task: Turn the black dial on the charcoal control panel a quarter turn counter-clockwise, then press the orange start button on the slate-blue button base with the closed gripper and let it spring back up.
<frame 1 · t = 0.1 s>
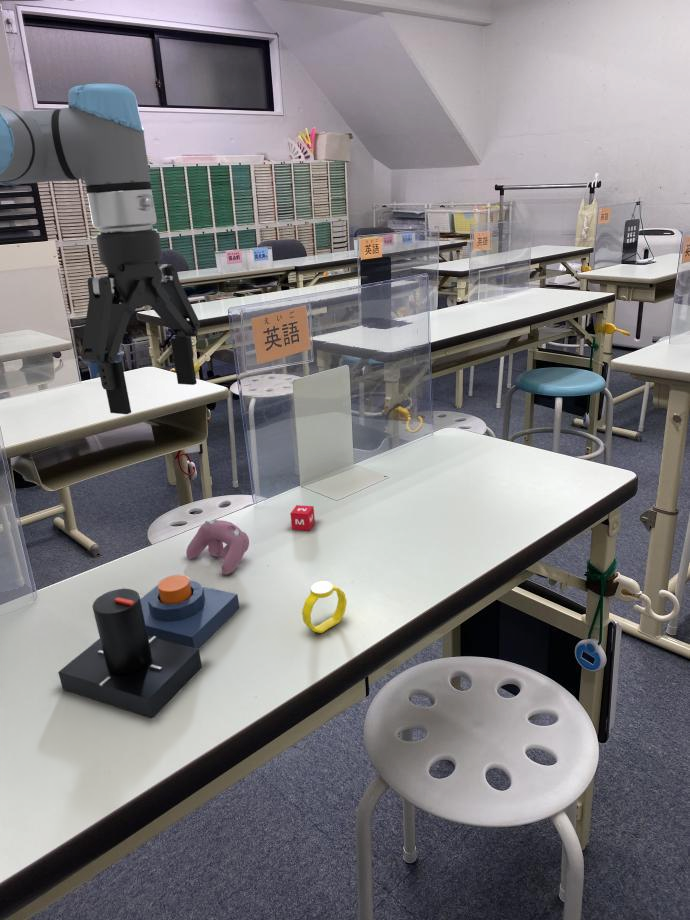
hand: (156, 397, 91), 27 cm above the table, tool pointing down, fingers open, 13 cm apart
dial: (122, 629, 77), point 7 cm above the table, hinge at 0.0°
start button: (174, 589, 88), point 5 cm above the table, slide at 0.1 cm
red letter cube: (303, 527, 113), on the table
video game controller: (220, 561, 104), on the table
dial panel: (133, 678, 79), on the table
button base: (180, 619, 90), on the table
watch: (326, 628, 86), on the table
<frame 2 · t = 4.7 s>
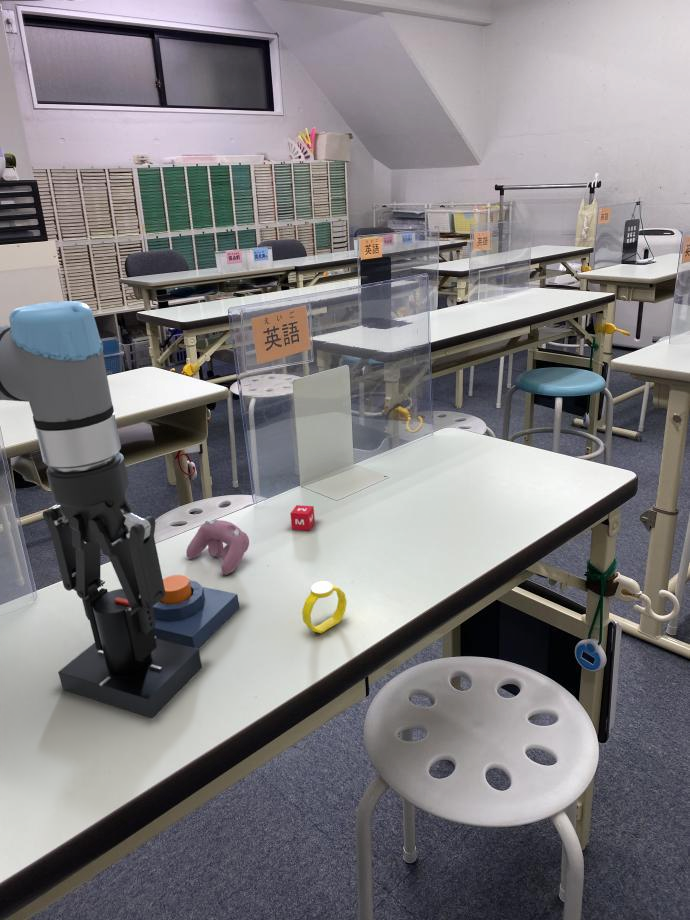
hand: (126, 647, 78), 4 cm above the table, tool pointing down, fingers closed on dial, 5 cm apart
dial: (122, 629, 77), point 7 cm above the table, hinge at 0.0°, touching gripper
everything else where it was.
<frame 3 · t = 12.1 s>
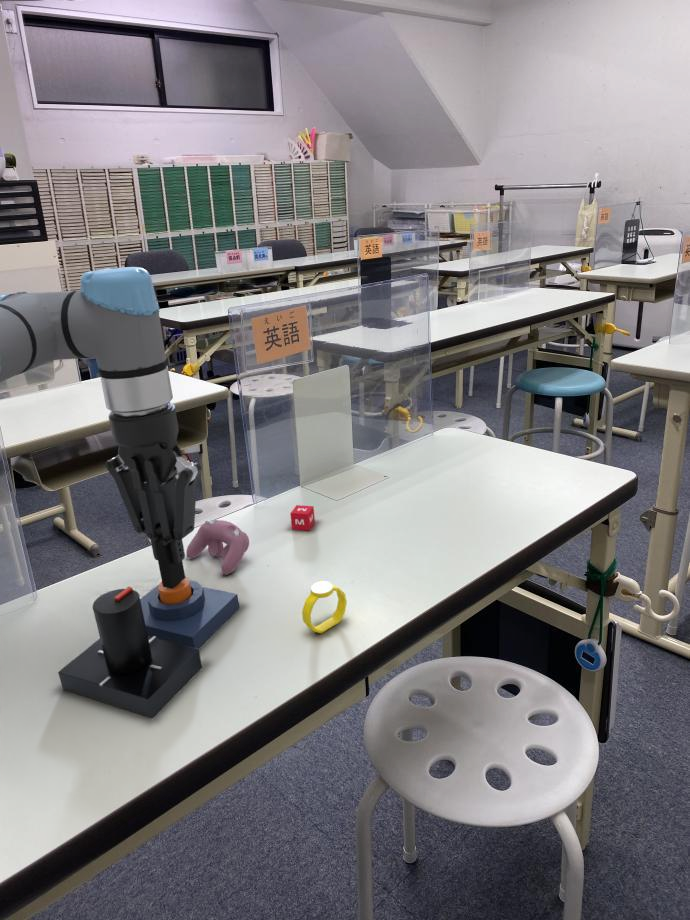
hand: (174, 582, 88), 6 cm above the table, tool pointing down, fingers closed
dial: (122, 629, 77), point 7 cm above the table, hinge at 90.0°
start button: (175, 590, 88), point 4 cm above the table, slide at -0.1 cm, touching gripper
everything else where it was.
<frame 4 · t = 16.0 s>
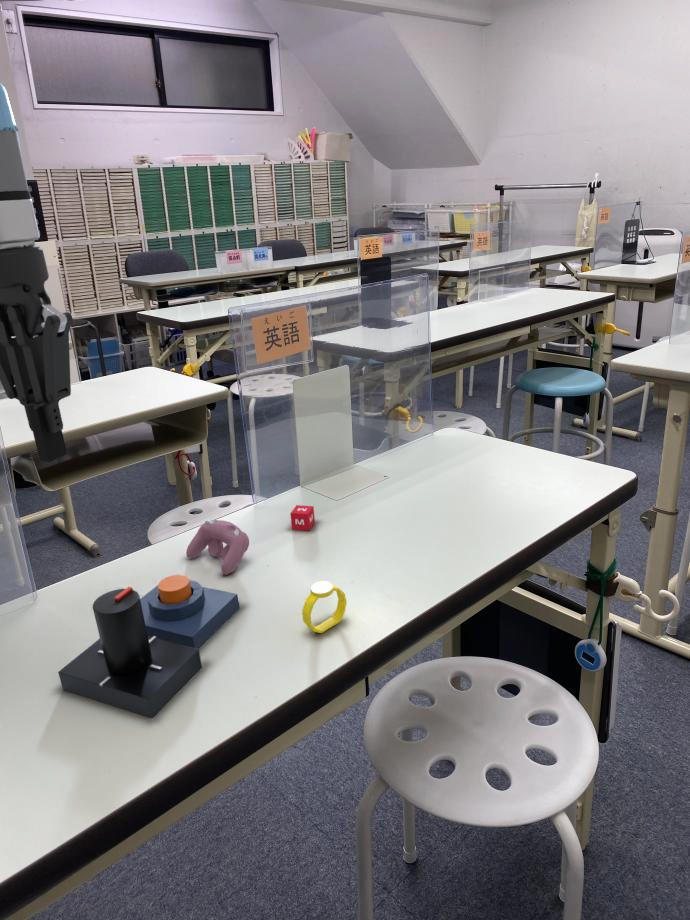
hand: (53, 457, 80), 24 cm above the table, tool pointing down, fingers closed
start button: (174, 589, 88), point 5 cm above the table, slide at 0.1 cm
everything else where it was.
at the end: dial at +90° (first picture: +0°); start button pushed in 1.0 cm at the most during the clip, back to where it started at the end; start button slide at 0.1 cm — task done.
